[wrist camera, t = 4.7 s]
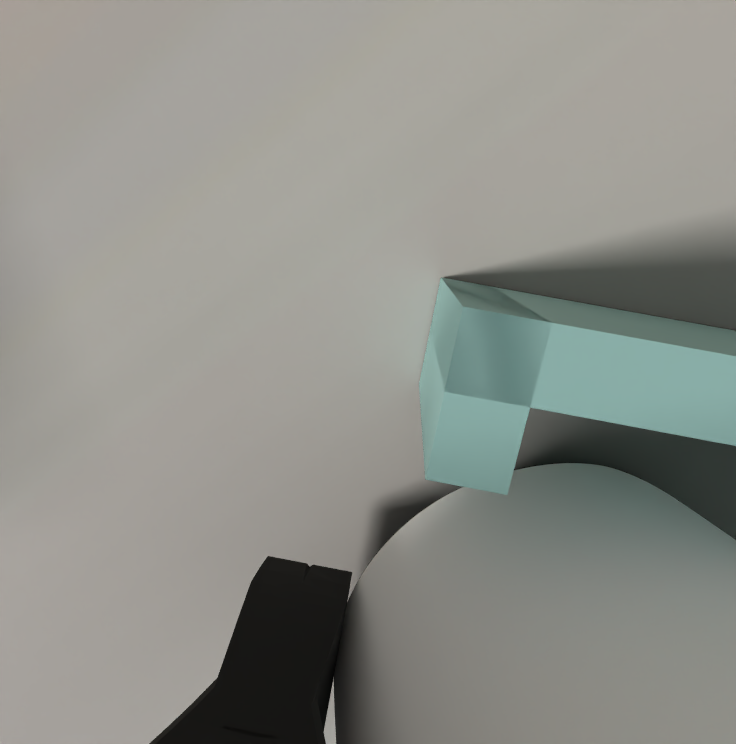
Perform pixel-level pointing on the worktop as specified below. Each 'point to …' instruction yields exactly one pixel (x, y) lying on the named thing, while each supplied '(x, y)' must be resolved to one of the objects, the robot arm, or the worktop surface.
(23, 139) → the worktop surface
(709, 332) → the teal bracket
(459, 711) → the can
